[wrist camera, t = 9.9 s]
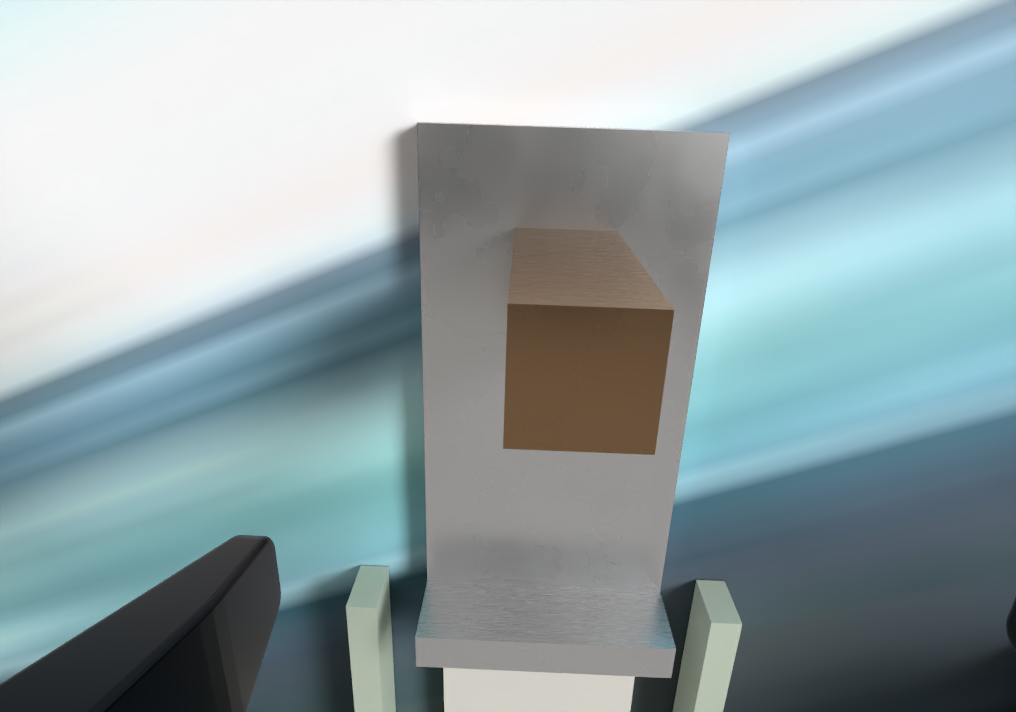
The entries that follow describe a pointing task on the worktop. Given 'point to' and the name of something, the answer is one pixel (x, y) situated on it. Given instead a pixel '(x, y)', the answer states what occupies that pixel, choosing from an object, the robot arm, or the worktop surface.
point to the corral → (698, 678)
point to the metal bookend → (557, 387)
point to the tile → (534, 691)
